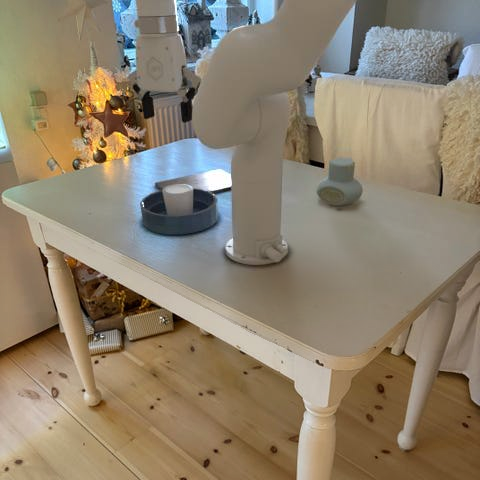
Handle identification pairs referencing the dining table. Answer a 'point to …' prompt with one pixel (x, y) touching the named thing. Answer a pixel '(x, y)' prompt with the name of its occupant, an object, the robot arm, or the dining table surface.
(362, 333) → the dining table surface
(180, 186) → the white cup
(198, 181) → the board
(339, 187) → the air freshener
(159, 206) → the bowl
